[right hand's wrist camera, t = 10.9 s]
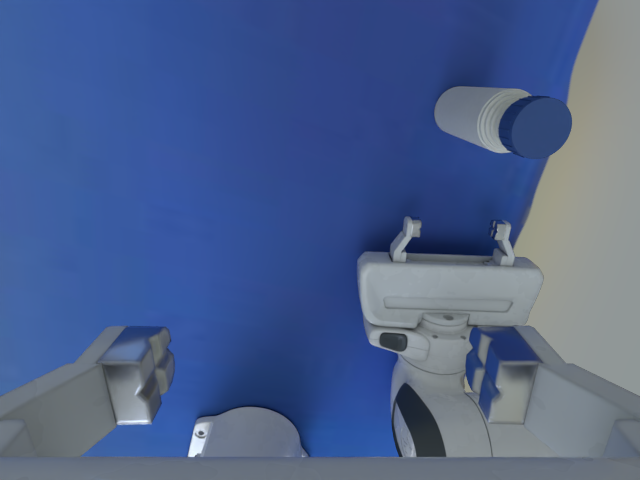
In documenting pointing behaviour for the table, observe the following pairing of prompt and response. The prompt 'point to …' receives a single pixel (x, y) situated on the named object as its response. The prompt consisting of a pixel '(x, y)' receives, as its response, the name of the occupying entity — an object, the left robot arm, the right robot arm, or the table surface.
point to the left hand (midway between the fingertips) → (457, 219)
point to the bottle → (476, 113)
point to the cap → (535, 126)
